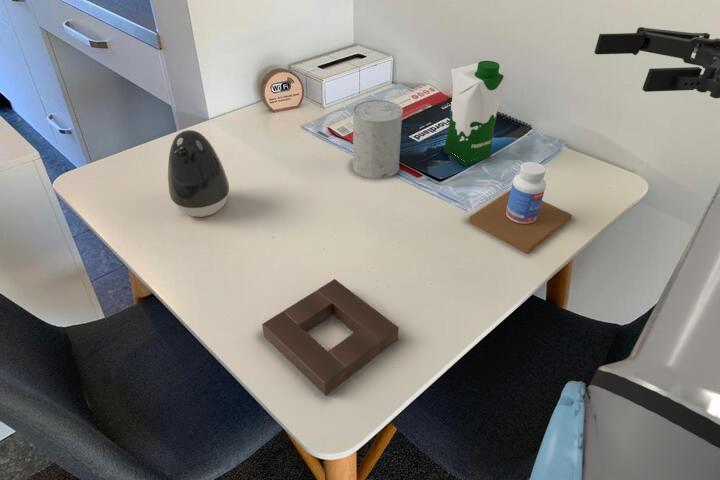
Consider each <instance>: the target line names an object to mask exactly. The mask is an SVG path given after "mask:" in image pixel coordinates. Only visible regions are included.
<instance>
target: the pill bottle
mask: <svg viewBox="0 0 720 480" xmlns="http://www.w3.org/2000/svg"><path fill="white" fill-rule="evenodd" d="M545 175H546V167H545V166H544V165H543V164H541V163H539V162H534V161H526V162H523V163H521V165H520V168H519V172H518V174H516V175H515V176H514V177H513V179H512V183H511V188H510V190H511V191H510V190H509V191H510V196H509V200H508V204H507V208H506V215H507V217H508V218H509V219H510V220H512V221H514V222H516V223H520V224H529V223H532V222H534V221H535V220H536V218H537V216H538V212H539V209H540V205H541V202H542V201H543V197H544V194H545V191H546V186H547V184H546V180H545V179H544V177H545Z"/></svg>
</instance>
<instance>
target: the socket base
mask: <svg viewBox="0 0 720 480" xmlns="http://www.w3.org/2000/svg"><path fill="white" fill-rule="evenodd" d="M332 316H333V317H334V318H335V319H336V320H338V321H339V322H340V323H342V324H343V325H344V326H346V327H347V328H348V329H349V330H350V331H352V332H353V333H351V334H350V335H348V336H347V337H345V338H344V339H343V340H342V341H340V342H339V343H337V344H336V345H335V346H333V347H332V348H330V349H329V350H327V349H326V348H325V347H324V346H322V344H320V343H319V342H318V341H317V340H316V339H315V338H313V337H312V336H311V335H310V334H309V333H308V332H310V331H311V330H313V329H314V328H316V327H317V326H319V325H320V324H322V323H323V322H325V321H326V320H327V319H329V318H331V317H332ZM261 327H262V328H261V329H262V333H263V337H264V338H265V339H266V340H267V341H268V342H269V343H270V344H271V345H272V346H273V347H274V348H275V349H276V350H278V352H279V353H281V355H283V356H284V357H285V358H286V359H287V361H288V362H289V363H291V364H292V365H293V366H294V367H295V368H296V369H297V370H298V371H299V372H300V373H301V374H302V375H303V376H304V377H305V378H307V380H309V382H311V383H312V384H313V385H314V386H315V387H316V388H317V389H318V390H319V391H320V392H321V393H322V394H323V395H324V396H327V395H329V394H330V393H331V392H332V391H333V390H335V389H336V388H337V387H339V386H340V385H341V384H343V383H344V382H345V381H346V380H348V379H349V378H350V377H352V376H353V375H355V373H357V372H359V371H360V370H361V369H362V368H364V367H365V366H366V365H367V364H369V363H370V362H372V360H374V359H375V358H377V357H378V356H380V354H382V353H383V352H385V351H386V350H387V349H388V348H390V347H391V346H392V345H394V344H395V343H396V342H398V340H399V333H400V327H399V326H397V325H396V324H395V323H394V322H392V321H391V320H390V319H389V318H387V317H386V316H384V315H383V314H381V312H379V311H378V310H377V309H375V308H374V307H373V306H372V305H370V304H368V303H367V302H366V301H364V300H363V299H362V298H360V296H358V295H357V294H355V293H354V292H352V290H350V289H349V288H347V287H346V286H344V285H343V283H341V282H339V281H338V280H337V279H335V278H334V279H332V280H331V281H328V282H327V283H325V284H324V285H323V286H321V287H319V288H317V289H316V290H315V291H313V292H312V293H310V294H308V295H306V296H305V297H303V298H302V299H300V300H298V301H297V302H295V303H293V304H291V305H290V306H289V307H287V308H285V309H284V310H282V311H281V312H279V313H278V314H276V315H275V316H272V317H271V318H270V319H268V320H266V321H264V322H263V323H262V324H261Z"/></svg>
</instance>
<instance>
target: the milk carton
mask: <svg viewBox="0 0 720 480" xmlns="http://www.w3.org/2000/svg"><path fill="white" fill-rule="evenodd" d="M500 65H501V64H500V63H498V62H496V61H494V60H493V61H492V60H481V61H479V62H476V63H472V64H468V65H464V66H460V67H456V68H452V69H451V70H450V71H451V82H452V95H451V96H452V98H451V106H450V114H449V120H448V121H449V122H448V129H447V135H446V138H445V143H444V147H445V148H446V149H447V150H446V149H445V148H444V147H443V152H444V153H445V154H446V155H448V156H450V157H451V158H452V159H454V160H456V161H457V162H459V163H460V164H462V165H463V166H465V167H466V166H470V165H472V164H475V163H478V162H481V161H483V160H487V159H489V158H491V155H492V145H493V135H494V130H495V125H496V120H497V115H498V109H499V103H500V98H501V94H502V92H503V89H504V86H505V84H506V82H507V80H508V77H509V74H508V73H506V72H503V71H502V70H500ZM448 150H449V151H451V152H452V153H453V154H452V153H451V152H449V151H448ZM454 154H455V155H456V156H455V155H454ZM457 156H458V157H459V158H458V157H457ZM477 158H478V159H477ZM461 159H462V160H461ZM474 159H475V160H474ZM463 160H464V161H465V162H464V161H463ZM471 160H472V161H471Z"/></svg>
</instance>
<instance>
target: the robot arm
mask: <svg viewBox="0 0 720 480" xmlns="http://www.w3.org/2000/svg"><path fill="white" fill-rule="evenodd" d="M710 37H711V34H710V33H709V32H687V31H677V30H668V29H659V28H649V27H643V26H639V27H637V29H636V32H627V33H626V32H623V33H620V32H619V33H599V35H598V39H597V42H596V45H595V49H594V51H593V52H594V54H595V55H624V54H625V55H629V54H632V55H634V56H637V55H638V54H639V53H640V52H644V53H651V54H656V55H660V56H666V57H671V58H677V59H681V60H682V61H683V63H685V64H688V65H693V66H689V67H685V66H684V67H657V68H656V67H655V68H654V67H653V68H649V69H648V72H647V74H646V77H645V80H644V82H643V85H642V89H641V90H642V91H643V92H645V93H648V92H649V93H650V92H651V93H652V92H680V91H682V92H683V91H694V90H696V91H697V92H699V93H707V92H709V97H711V98H713V99H720V38H719V37H717V38H710ZM693 54H695V55H694V57H692V55H693ZM702 68H703V69H704V71H703V69H702ZM702 71H703V73H702ZM668 279H669V280H668V281H667V283H666V285H665V286H664V289H663V291H662V293H661V295H660V297H659V298H658V300H657V301H656V304H655V306H654V308H653V310H652V312H651V314H650V316H649V318H648V319H647V321H646V323H645V325H644V327H643V329H642V331H641V333H640V334H639V337H638V338H637V341H636V342H635V345H634V346H633V348H632V350H631V351H630V354H629V356H627V358H625V359H623V360H619V361H615V362H612V363H608V364H604V365H600V366H598V368H597V370H596V372H595V373H594V376H593V377H592V379H591V381H590V382H589V385H588V386H587V384H586V383H585V382H583V381H575V380H570V381H567V383H566V384H565V385H564V387H563V389H562V391H561V394H560V397H559V399H558V401H557V404H556V405H555V407H554V409H553V412H552V415H551V417H550V419H549V423H548V425H547V427H546V430H545V432H544V435H543V438H542V441H541V444H540V447H539V449H538V453H537V455H536V458H535V461H534V464H533V468H532V471H531V474H530V477H529V480H720V182H719V183H718V184H717V187H716V189H715V191H714V192H713V195H712V196H711V198H710V200H709V202H708V204H707V206H706V208H705V209H704V212H703V214H702V216H701V218H700V219H699V221H698V223H697V226H696V227H695V229H694V231H693V233H692V234H691V237H690V238H689V241H688V243H687V245H686V246H685V248H684V251H683V252H682V254H681V256H680V258H679V260H678V262H677V263H676V266H675V267H674V270H673V272H672V274H671V275H670V277H669V278H668Z"/></svg>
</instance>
